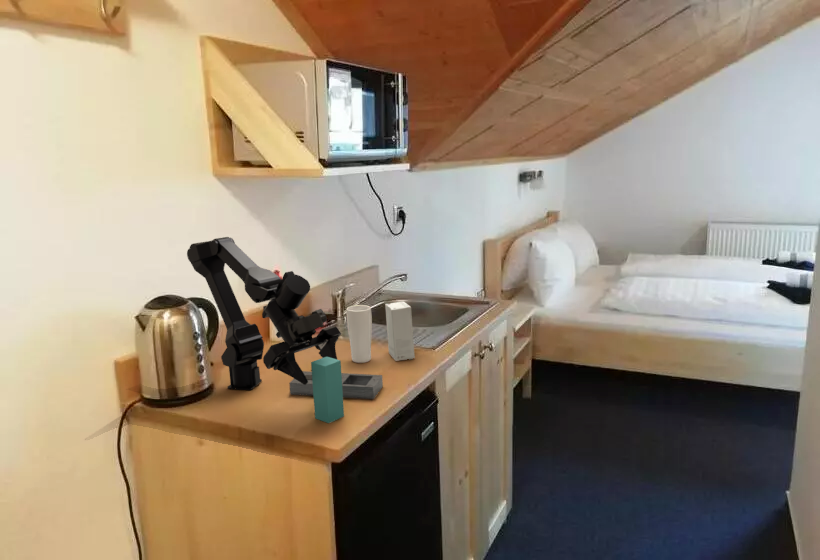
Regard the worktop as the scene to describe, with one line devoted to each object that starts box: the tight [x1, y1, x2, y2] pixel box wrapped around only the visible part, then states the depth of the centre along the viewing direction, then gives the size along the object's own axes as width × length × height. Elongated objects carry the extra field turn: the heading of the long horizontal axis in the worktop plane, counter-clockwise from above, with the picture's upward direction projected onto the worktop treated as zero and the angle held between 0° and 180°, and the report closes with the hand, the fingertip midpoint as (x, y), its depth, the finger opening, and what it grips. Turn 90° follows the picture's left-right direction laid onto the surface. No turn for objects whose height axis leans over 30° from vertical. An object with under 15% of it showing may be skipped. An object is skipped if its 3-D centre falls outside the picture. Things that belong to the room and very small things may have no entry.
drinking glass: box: [346, 304, 373, 364], centre depth 175 cm, size 7×7×15 cm
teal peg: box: [310, 357, 345, 424], centre depth 140 cm, size 4×4×13 cm
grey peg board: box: [289, 370, 384, 400], centre depth 156 cm, size 21×8×3 cm, turn 77°
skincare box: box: [384, 301, 416, 362], centre depth 178 cm, size 8×6×15 cm
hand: (322, 377), depth 140 cm, fingers open, 9 cm apart
